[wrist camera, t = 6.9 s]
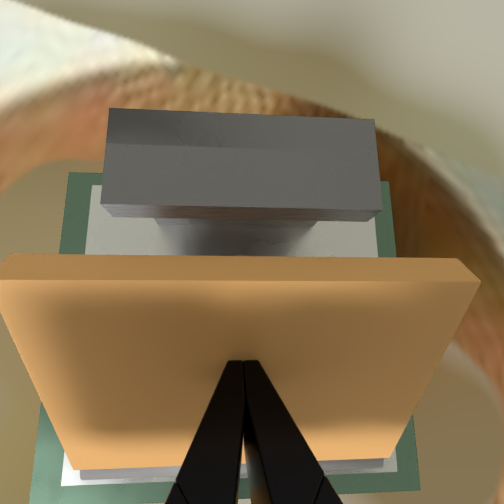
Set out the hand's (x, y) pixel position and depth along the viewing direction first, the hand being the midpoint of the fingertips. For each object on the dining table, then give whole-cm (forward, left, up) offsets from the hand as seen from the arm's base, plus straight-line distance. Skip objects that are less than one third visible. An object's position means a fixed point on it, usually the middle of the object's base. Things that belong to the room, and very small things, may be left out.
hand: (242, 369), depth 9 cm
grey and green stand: (+1, +1, -9) cm, 9 cm away
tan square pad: (-3, -1, -4) cm, 5 cm away
